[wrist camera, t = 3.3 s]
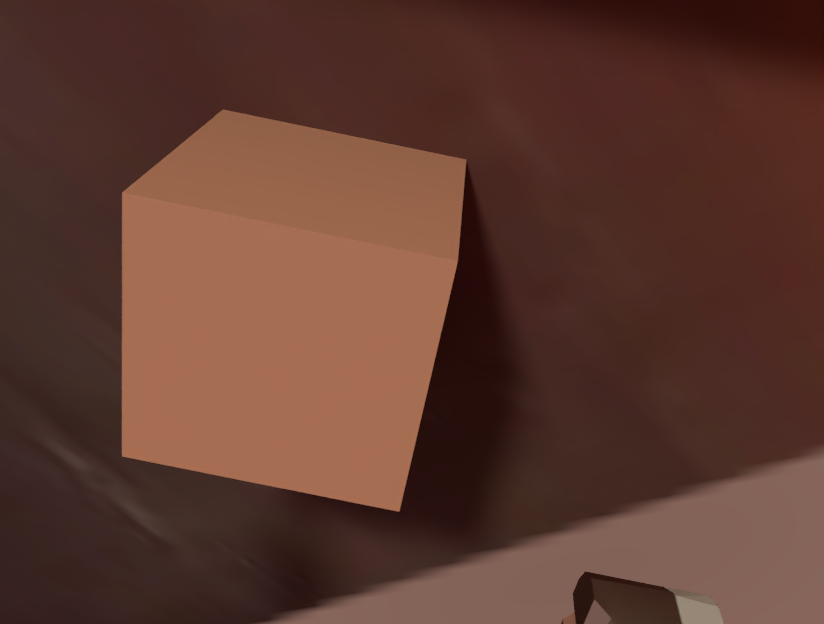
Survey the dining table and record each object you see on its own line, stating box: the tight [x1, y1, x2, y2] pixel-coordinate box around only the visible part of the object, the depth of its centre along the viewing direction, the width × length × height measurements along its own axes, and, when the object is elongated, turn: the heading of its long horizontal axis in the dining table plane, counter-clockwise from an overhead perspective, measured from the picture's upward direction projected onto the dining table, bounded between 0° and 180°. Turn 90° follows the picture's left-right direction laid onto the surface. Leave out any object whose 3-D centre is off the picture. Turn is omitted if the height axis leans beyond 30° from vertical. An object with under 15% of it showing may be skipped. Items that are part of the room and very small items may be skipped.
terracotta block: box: [122, 110, 466, 512], centre depth 15 cm, size 5×5×5 cm
